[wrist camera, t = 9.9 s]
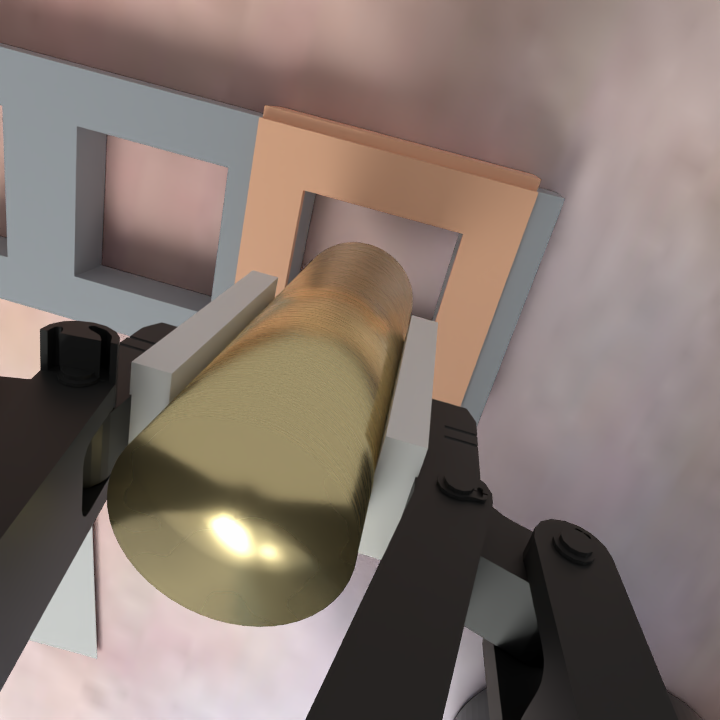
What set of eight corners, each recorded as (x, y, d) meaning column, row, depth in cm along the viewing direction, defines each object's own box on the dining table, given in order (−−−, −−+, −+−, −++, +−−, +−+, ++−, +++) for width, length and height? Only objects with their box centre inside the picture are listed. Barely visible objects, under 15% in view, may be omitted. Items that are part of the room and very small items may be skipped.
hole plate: (559, 181, 21) (571, 188, 19) (471, 413, 25) (473, 440, 23) (-172, -15, 22) (-241, -30, 20) (-136, 237, 27) (-189, 247, 24)
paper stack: (-218, 251, 28) (-234, 254, 27) (257, 359, 26) (252, 364, 26) (-128, 586, 38) (-138, 594, 37) (223, 682, 36) (219, 692, 35)
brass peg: (426, 260, 18) (387, 463, 8) (395, 365, 20) (327, 654, 9) (311, 228, 19) (112, 382, 8) (290, 335, 20) (102, 584, 9)
